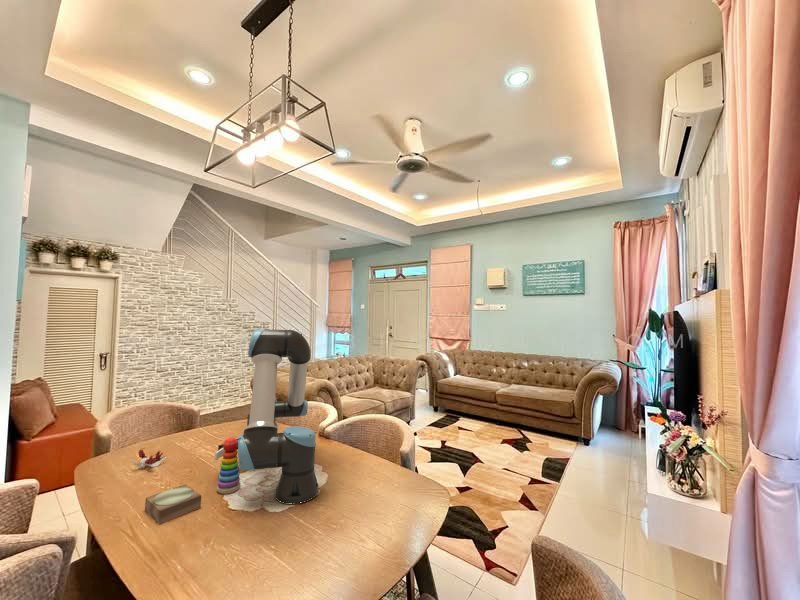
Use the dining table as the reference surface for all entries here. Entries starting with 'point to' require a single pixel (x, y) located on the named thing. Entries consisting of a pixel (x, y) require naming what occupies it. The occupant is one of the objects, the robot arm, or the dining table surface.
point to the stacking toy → (229, 468)
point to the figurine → (149, 459)
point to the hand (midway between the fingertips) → (233, 457)
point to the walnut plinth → (172, 503)
